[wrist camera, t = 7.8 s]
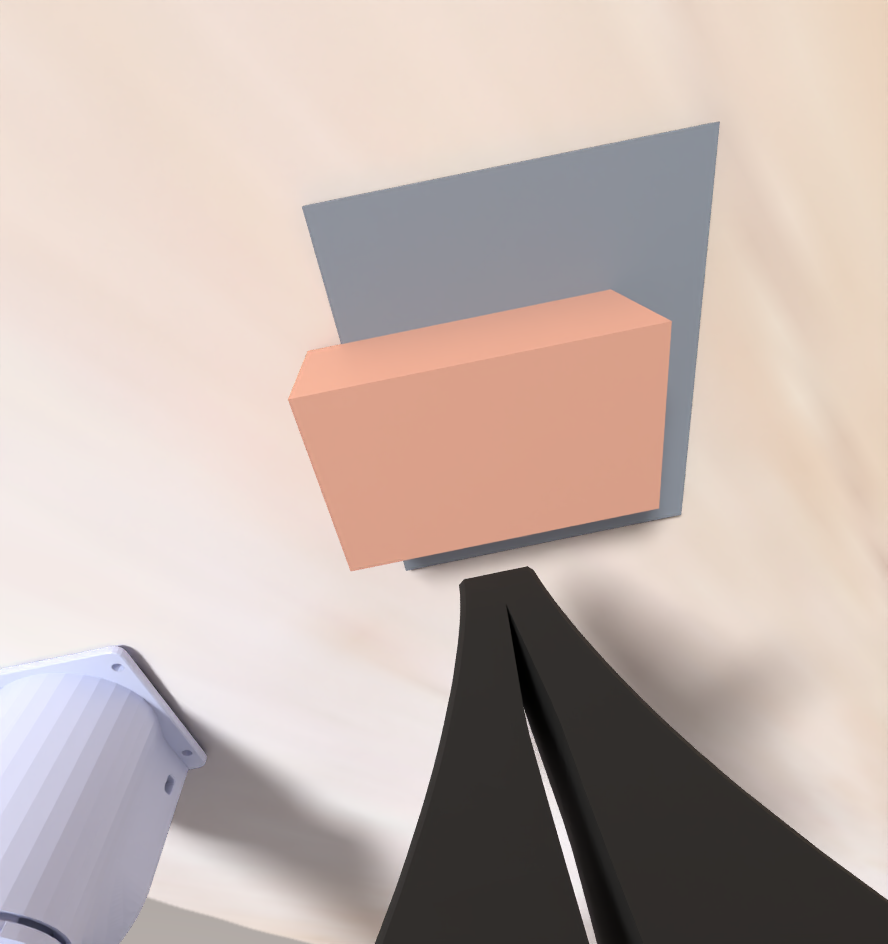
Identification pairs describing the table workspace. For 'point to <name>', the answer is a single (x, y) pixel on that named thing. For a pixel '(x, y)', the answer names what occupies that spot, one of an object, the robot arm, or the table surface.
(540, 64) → the table surface
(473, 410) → the block
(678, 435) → the mat
